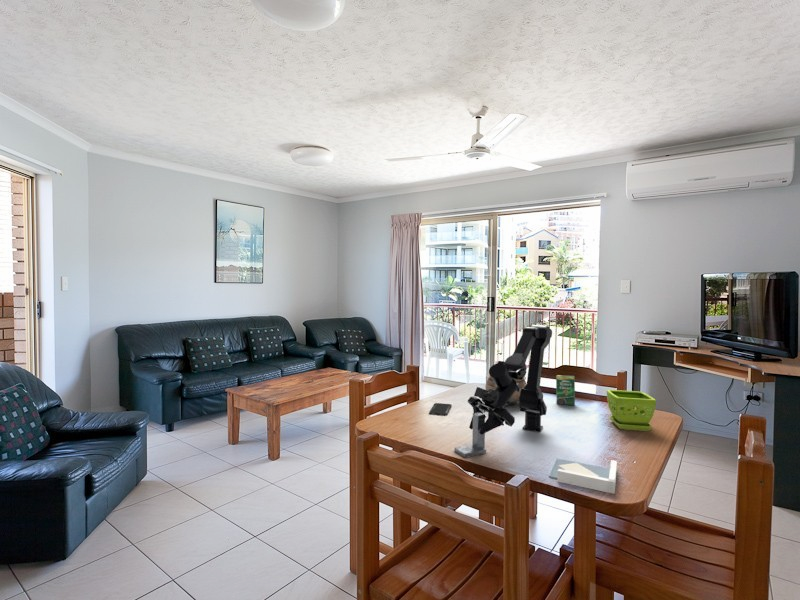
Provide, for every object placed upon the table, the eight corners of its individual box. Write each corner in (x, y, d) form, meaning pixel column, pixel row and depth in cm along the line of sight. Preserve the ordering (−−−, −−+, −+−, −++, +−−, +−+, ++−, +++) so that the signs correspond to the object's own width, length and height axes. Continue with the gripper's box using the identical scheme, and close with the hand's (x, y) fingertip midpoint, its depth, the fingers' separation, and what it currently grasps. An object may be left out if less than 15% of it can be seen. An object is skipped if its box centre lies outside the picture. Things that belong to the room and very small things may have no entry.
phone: (451, 404, 189) (447, 413, 174) (451, 406, 189) (447, 416, 174) (434, 402, 191) (428, 412, 176) (434, 405, 191) (428, 414, 176)
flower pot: (656, 434, 154) (657, 399, 153) (615, 431, 156) (616, 397, 156) (642, 422, 167) (643, 390, 167) (604, 419, 170) (605, 388, 170)
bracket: (476, 446, 140) (477, 411, 140) (487, 452, 135) (487, 415, 135) (454, 451, 136) (455, 414, 136) (464, 457, 131) (464, 419, 131)
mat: (556, 459, 130) (556, 458, 130) (610, 470, 123) (610, 468, 123) (549, 477, 118) (549, 475, 118) (608, 490, 111) (608, 488, 111)
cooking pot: (523, 413, 179) (524, 384, 178) (479, 407, 186) (479, 380, 186) (530, 399, 202) (531, 373, 201) (491, 394, 209) (491, 370, 209)
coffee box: (555, 404, 193) (556, 375, 192) (555, 402, 196) (556, 374, 195) (574, 405, 190) (575, 377, 190) (574, 404, 193) (574, 375, 192)
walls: (565, 461, 129) (565, 451, 129) (616, 471, 122) (616, 461, 122) (557, 481, 115) (557, 470, 115) (614, 493, 109) (614, 482, 109)
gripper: (472, 373, 147) (445, 408, 142) (508, 384, 130) (478, 424, 125) (490, 393, 150) (464, 428, 146) (527, 406, 134) (499, 446, 129)
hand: (475, 431), depth 136 cm, fingers open, 5 cm apart
